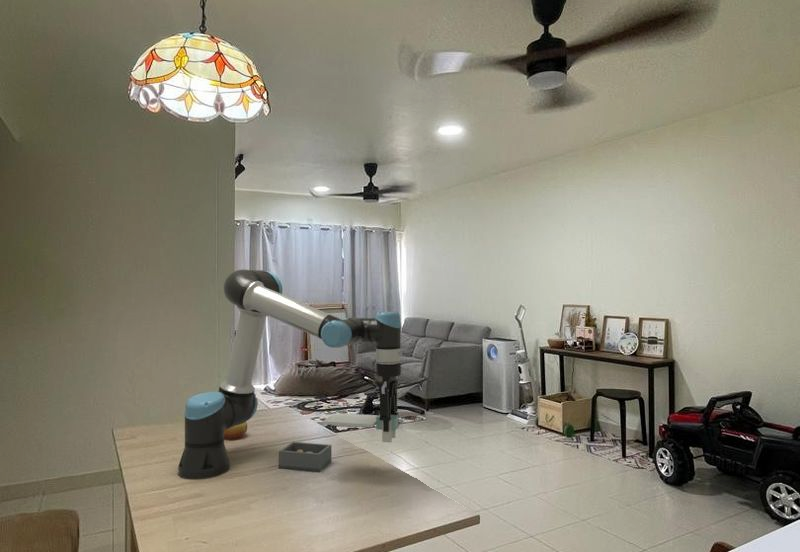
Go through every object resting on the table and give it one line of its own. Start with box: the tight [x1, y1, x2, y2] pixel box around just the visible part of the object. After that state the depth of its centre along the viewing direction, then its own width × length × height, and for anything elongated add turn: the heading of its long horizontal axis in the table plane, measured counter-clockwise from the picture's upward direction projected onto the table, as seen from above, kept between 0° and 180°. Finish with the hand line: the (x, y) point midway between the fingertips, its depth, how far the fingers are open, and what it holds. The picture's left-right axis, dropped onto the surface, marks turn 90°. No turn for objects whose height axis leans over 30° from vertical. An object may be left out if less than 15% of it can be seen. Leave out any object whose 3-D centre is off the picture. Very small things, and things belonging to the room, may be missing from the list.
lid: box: [322, 412, 400, 431], centre depth 153 cm, size 22×11×4 cm, turn 76°
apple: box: [224, 421, 248, 440], centre depth 192 cm, size 10×10×8 cm
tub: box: [278, 441, 332, 473], centre depth 161 cm, size 14×10×6 cm
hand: (389, 439), depth 151 cm, fingers closed on lid, 4 cm apart
